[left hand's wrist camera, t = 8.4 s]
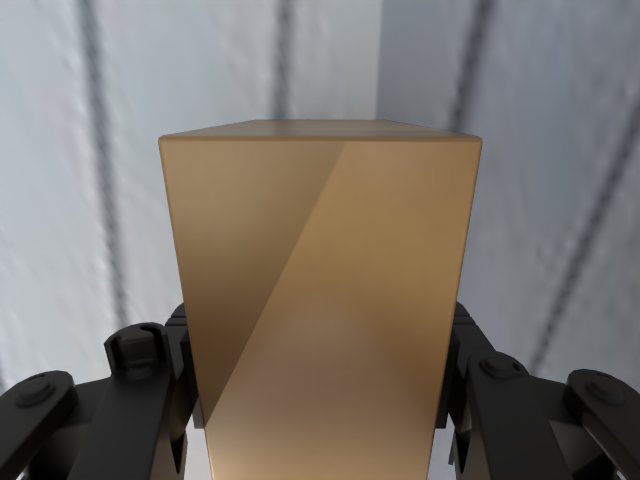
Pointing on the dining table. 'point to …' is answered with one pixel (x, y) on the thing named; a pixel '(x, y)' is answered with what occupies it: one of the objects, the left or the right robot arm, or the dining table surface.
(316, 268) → the bar
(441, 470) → the dining table surface
